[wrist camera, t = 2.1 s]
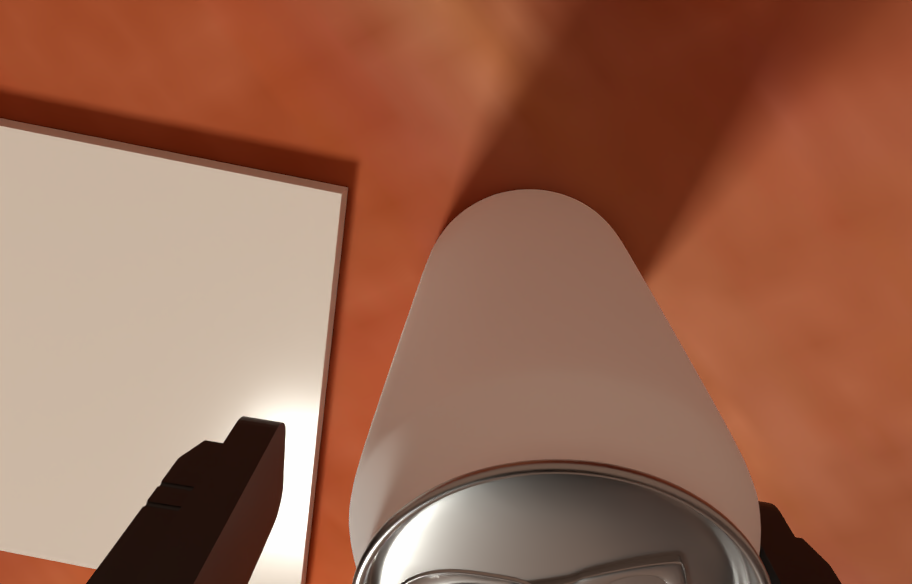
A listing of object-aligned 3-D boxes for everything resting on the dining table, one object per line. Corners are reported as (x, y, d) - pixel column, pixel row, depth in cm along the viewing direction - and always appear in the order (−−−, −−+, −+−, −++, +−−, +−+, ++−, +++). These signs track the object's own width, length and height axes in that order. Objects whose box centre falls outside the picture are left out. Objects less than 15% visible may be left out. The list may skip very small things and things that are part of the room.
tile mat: (348, 187, 18) (341, 194, 17) (304, 592, 25) (298, 608, 25) (-233, 71, 18) (-264, 73, 17) (-108, 511, 25) (-127, 525, 24)
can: (401, 211, 18) (242, 482, 7) (612, 161, 17) (806, 389, 6) (454, 386, 21) (396, 788, 10) (642, 352, 19) (820, 762, 8)
